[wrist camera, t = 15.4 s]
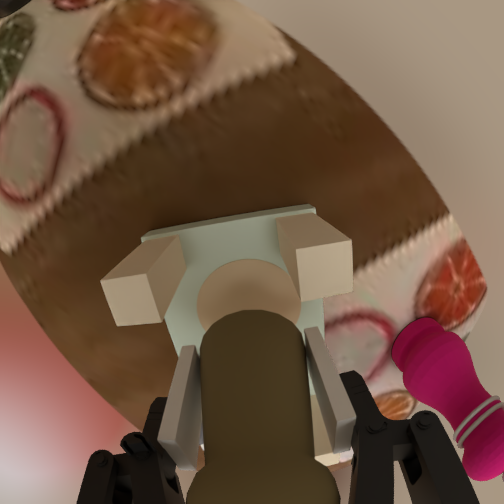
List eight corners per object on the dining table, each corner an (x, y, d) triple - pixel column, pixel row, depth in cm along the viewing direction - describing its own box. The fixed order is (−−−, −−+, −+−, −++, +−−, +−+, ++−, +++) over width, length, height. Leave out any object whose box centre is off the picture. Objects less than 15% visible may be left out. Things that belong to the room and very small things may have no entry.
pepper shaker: (225, 291, 14) (205, 518, 3) (324, 331, 15) (401, 509, 4) (185, 370, 15) (152, 541, 5) (273, 399, 16) (294, 554, 6)
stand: (149, 230, 20) (84, 285, 11) (308, 203, 20) (366, 239, 10) (209, 411, 26) (202, 489, 17) (320, 396, 26) (343, 472, 17)
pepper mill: (376, 369, 25) (458, 523, 6) (403, 310, 23) (531, 465, 4) (423, 366, 26) (506, 488, 7) (450, 313, 24) (563, 429, 5)
